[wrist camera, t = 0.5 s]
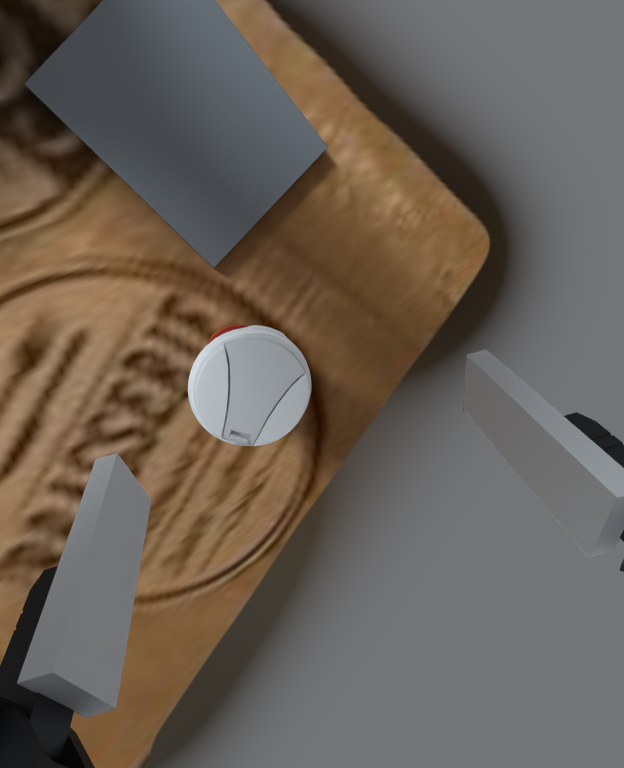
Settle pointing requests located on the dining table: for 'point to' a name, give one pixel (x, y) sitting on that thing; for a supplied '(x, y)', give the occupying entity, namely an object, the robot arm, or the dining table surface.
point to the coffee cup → (249, 385)
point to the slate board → (180, 115)
